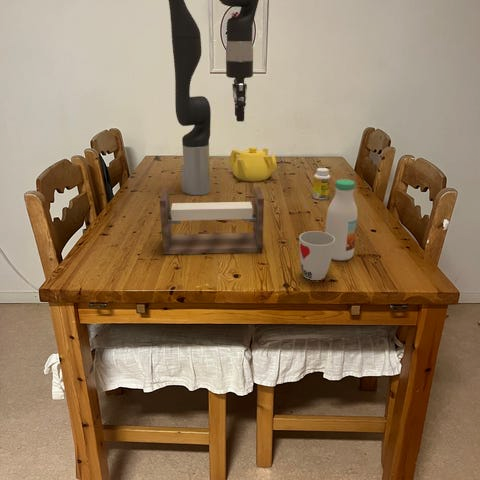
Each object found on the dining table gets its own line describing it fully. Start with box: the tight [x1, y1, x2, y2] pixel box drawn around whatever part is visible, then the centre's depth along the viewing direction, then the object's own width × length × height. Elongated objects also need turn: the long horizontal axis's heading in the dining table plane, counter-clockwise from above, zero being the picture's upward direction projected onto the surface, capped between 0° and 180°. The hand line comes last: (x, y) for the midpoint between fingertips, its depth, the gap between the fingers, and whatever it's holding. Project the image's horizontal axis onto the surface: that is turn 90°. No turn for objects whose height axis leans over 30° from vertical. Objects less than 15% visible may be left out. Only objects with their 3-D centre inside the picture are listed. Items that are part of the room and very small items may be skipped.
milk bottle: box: [324, 178, 359, 261], centre depth 118 cm, size 8×8×20 cm
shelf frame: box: [159, 186, 265, 255], centre depth 123 cm, size 26×10×15 cm, turn 94°
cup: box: [298, 230, 335, 281], centre depth 109 cm, size 8×8×10 cm
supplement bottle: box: [312, 167, 331, 201], centre depth 161 cm, size 6×6×10 cm
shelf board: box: [170, 201, 254, 222], centre depth 122 cm, size 21×5×3 cm, turn 94°
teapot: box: [228, 146, 278, 183], centre depth 183 cm, size 17×17×12 cm
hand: (239, 118), depth 135 cm, fingers open, 8 cm apart
